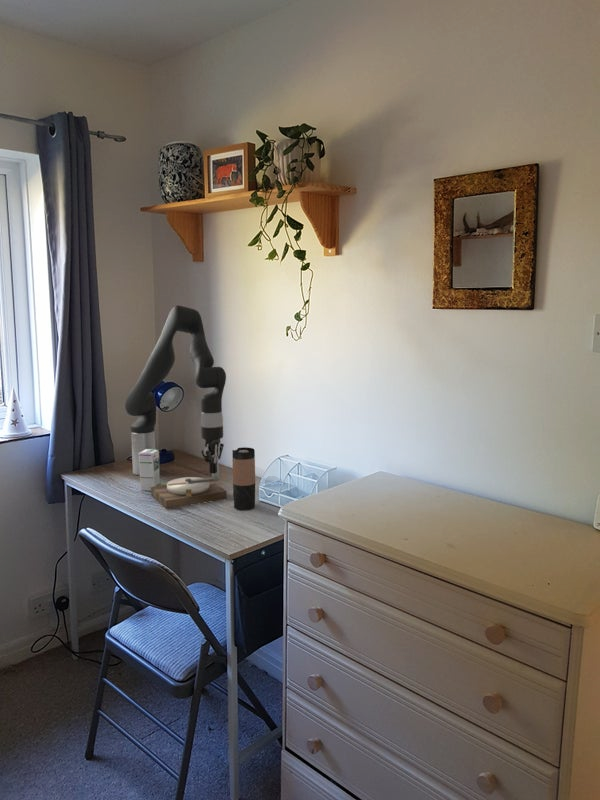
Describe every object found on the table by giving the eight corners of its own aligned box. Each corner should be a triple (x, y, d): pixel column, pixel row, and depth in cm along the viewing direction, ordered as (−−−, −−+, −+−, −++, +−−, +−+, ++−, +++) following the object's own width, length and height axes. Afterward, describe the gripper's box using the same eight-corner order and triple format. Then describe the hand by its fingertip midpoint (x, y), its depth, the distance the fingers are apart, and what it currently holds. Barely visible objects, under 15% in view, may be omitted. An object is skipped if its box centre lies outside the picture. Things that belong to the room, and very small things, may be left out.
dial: (214, 479, 240) (213, 458, 238) (224, 490, 226) (223, 468, 224) (163, 484, 233) (163, 463, 232) (170, 496, 219) (169, 474, 218)
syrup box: (154, 491, 236) (153, 453, 234) (139, 490, 238) (138, 452, 235) (161, 486, 242) (159, 449, 240) (146, 485, 243) (144, 448, 241)
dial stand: (151, 494, 232) (150, 480, 231) (208, 486, 242) (208, 472, 241) (166, 509, 216) (165, 493, 215) (226, 499, 227) (226, 484, 226)
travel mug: (256, 510, 215) (255, 452, 212) (233, 511, 214) (232, 453, 211) (254, 502, 222) (253, 446, 219) (232, 504, 221) (231, 447, 218)
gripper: (213, 428, 214) (214, 478, 217) (230, 421, 227) (231, 469, 229) (193, 427, 217) (195, 477, 220) (211, 420, 229) (212, 467, 232)
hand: (213, 472), depth 225 cm, fingers closed
